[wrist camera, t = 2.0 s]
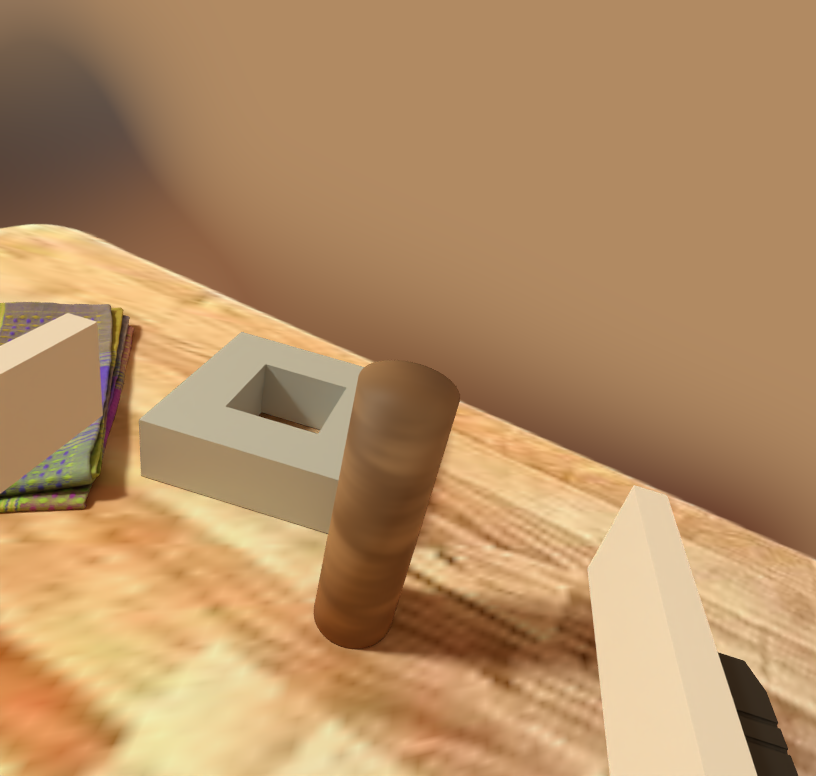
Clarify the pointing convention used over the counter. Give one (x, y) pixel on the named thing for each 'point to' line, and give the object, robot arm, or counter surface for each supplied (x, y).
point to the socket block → (256, 430)
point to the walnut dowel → (382, 497)
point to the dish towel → (82, 456)
